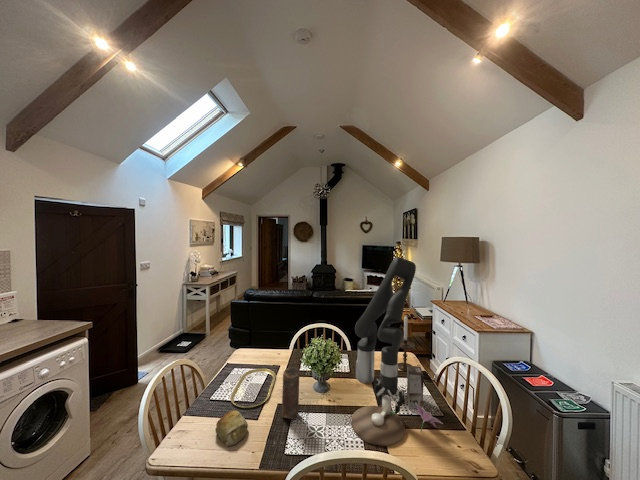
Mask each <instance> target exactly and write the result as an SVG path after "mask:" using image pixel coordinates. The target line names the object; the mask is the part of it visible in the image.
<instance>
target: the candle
mask: <svg viewBox="0 0 640 480" xmlns="http://www.w3.org/2000/svg"><path fill="white" fill-rule="evenodd" d="M299 392H300V370H299V369H298V368H296V367H288V368H286V369H284V370H283V374H282V393H281V394H282V397H281V398H282V399H281V417H282V418H283V419H288V420H293V419H295V418H296V417H297V416H298V415H299V405H300V397H299V396H300V393H299Z"/></svg>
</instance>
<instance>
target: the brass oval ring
mask: <svg viewBox="0 0 640 480" xmlns="http://www.w3.org/2000/svg"><path fill="white" fill-rule="evenodd" d="M254 373H267V374H269V375H271V376H272V380H271V382H270V386H269V389H268V392H267V395H266V398H265V399H264V400H263V402H262V401H261V402H260V403H259V404H255V405H251V406H249V405H248V406H242V405H238V404H237V403H236V402H235V396H236V395H235V394H237V393H238V391H239V389H240V387H241V385H242V384H241V383H243V382H244V380H245V378H246V377H247V376H249V375H251V374H254ZM275 380H276V373H275V372H274V371H273V370H271V369H268V368H254V369H251V370H247V371H246V372H245V373H243V374H242V375H241V377H240V378H239V380H238V382H237V384H236V386H235V388H234V389H233V391H232V393H231V395H230V401H231V404H233V405H234V406H235V407H238V408H241V409H252V408H257V407H259V406H261V405H263V404H264V403H265V402H266V401H268V399H269V397H270V396H271V393H272V389H273V387H274V383H275ZM238 388H239V389H238ZM234 402H235V403H234ZM236 404H237V405H236Z"/></svg>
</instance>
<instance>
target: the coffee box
mask: <svg viewBox="0 0 640 480" xmlns="http://www.w3.org/2000/svg"><path fill="white" fill-rule="evenodd" d="M406 372H407V373H406V374H407V377H406V379H407V380H406V400H407V404H408V405H409V406H408V408H409V409H414V408H415V410H418V408H417V406H416V404H418V405H419V406H420V407H422V408H423V409H424V406H423V405H424V380H425V379H424V377H425V375H424V372H423V369H422V367H421V366H420V365H419V366H418V365H412V366H408V369H407V371H406ZM415 403H416V404H415Z"/></svg>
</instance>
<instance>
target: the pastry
mask: <svg viewBox="0 0 640 480" xmlns="http://www.w3.org/2000/svg"><path fill="white" fill-rule="evenodd" d="M215 426H216V427H215V434H216V435H217V436H218V439H219V440H220V441H221V442H223V443H224V444H225V446H226V447H232V446H234V445H236V444H238V443H239V442H240V441H241V440H243V439H245V436H246V435H247V432H248V427H249V425H248V422H247V420H246V418H245V417H243V415H242V413H241V412H240V411H238V410H236V409H232V410H231V411H229V412H225V413H224V414H223V416H222V417H220V418H219V419H218V420H217V421H216V425H215Z"/></svg>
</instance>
